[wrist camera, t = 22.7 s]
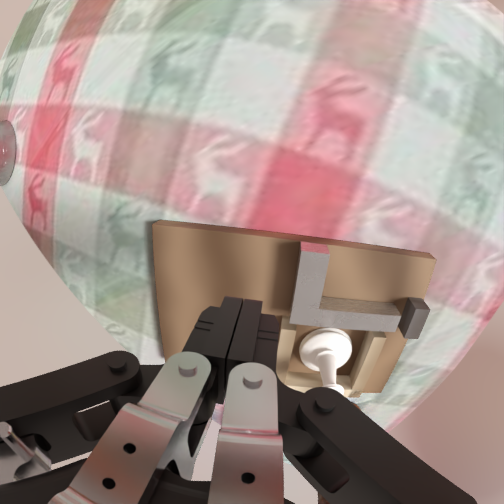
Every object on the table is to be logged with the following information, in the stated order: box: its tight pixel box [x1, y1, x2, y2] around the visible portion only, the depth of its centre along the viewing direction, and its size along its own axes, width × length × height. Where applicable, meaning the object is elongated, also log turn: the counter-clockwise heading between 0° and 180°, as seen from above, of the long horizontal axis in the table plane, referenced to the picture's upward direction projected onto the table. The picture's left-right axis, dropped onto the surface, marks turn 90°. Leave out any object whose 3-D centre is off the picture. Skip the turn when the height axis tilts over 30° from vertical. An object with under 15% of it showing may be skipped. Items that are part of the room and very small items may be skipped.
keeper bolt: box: [289, 242, 401, 332], centre depth 20 cm, size 9×6×2 cm, turn 86°
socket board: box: [152, 220, 436, 397], centre depth 23 cm, size 24×16×4 cm, turn 86°
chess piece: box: [299, 328, 352, 395], centre depth 19 cm, size 5×5×10 cm
